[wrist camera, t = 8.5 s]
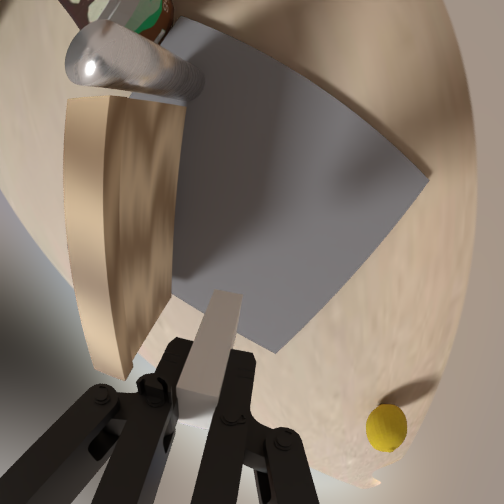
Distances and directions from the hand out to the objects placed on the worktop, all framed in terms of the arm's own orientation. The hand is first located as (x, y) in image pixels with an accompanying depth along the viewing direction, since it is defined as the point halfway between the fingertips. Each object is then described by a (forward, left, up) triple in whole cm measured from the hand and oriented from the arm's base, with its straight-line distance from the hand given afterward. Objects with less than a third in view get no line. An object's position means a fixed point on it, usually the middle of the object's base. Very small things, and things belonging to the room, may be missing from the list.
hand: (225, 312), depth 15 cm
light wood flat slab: (-7, -1, -8) cm, 11 cm away
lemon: (+28, -9, -10) cm, 31 cm away
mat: (-3, +3, -10) cm, 11 cm away
